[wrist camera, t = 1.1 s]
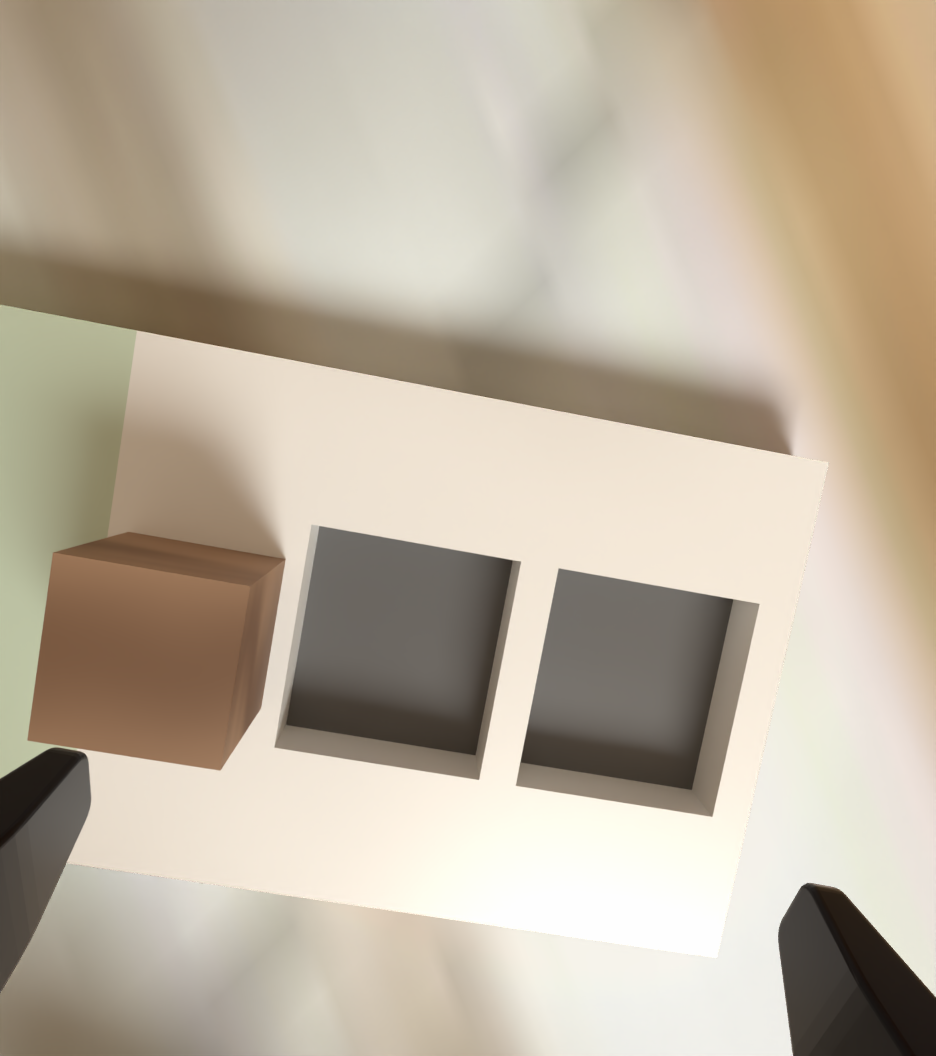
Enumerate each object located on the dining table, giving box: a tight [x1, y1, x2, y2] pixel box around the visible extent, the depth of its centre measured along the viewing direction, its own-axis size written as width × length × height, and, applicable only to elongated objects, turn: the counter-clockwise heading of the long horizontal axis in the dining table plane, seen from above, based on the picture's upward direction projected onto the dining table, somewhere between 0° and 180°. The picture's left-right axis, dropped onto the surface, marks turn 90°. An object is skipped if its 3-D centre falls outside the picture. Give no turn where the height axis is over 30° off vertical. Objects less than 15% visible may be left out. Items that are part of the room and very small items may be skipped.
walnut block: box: [27, 532, 286, 771], centre depth 18 cm, size 4×4×4 cm
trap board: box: [0, 304, 829, 958], centre depth 20 cm, size 14×24×4 cm, turn 79°
